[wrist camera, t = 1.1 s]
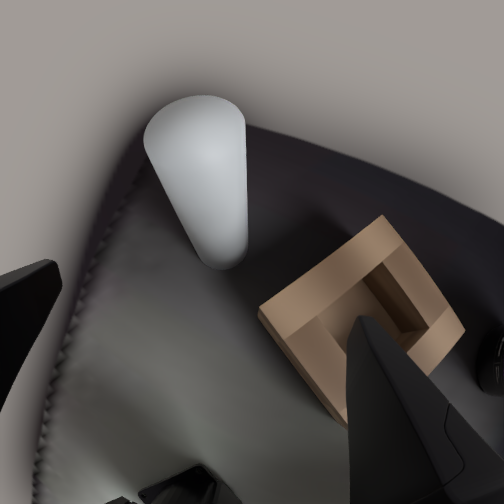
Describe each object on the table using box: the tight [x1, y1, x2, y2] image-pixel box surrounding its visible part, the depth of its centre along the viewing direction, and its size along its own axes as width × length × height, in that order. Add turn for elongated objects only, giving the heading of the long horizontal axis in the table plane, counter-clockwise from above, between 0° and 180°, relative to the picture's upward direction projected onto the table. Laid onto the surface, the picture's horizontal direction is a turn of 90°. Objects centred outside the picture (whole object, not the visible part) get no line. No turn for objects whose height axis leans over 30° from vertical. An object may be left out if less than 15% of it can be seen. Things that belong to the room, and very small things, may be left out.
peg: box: [144, 95, 248, 270], centre depth 17 cm, size 4×4×13 cm
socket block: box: [257, 215, 466, 430], centre depth 19 cm, size 10×10×5 cm
